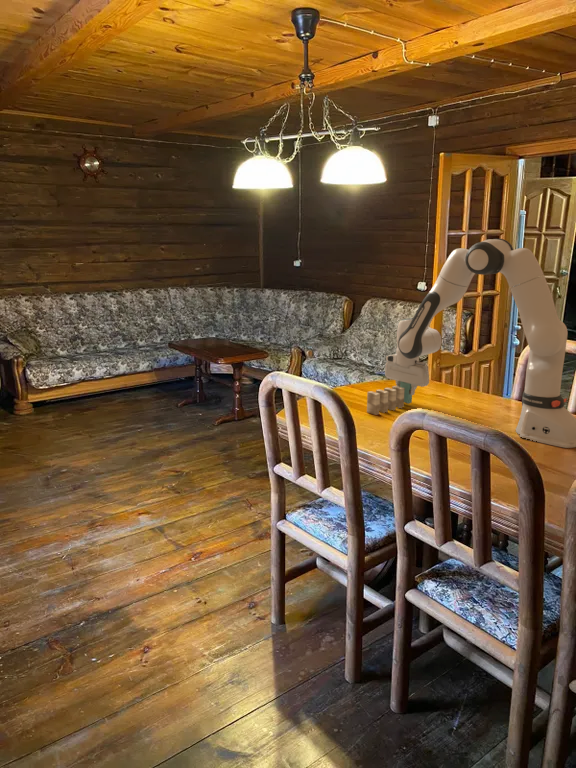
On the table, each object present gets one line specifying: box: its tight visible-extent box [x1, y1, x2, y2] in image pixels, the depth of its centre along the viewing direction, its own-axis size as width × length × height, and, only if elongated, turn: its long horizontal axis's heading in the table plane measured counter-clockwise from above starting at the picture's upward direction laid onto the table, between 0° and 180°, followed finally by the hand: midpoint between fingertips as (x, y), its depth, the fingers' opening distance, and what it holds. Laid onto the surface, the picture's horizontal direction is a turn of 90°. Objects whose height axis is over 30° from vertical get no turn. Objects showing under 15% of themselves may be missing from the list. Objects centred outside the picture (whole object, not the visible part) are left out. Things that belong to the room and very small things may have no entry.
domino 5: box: [400, 382, 413, 404], centre depth 235 cm, size 5×2×8 cm, turn 37°
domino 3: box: [383, 387, 397, 411], centre depth 230 cm, size 5×2×8 cm, turn 37°
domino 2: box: [375, 389, 388, 414], centre depth 227 cm, size 5×2×8 cm, turn 37°
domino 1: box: [366, 391, 380, 416], centre depth 225 cm, size 5×2×8 cm, turn 37°
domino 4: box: [391, 385, 405, 409], centre depth 232 cm, size 5×2×8 cm, turn 37°
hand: (405, 393), depth 235 cm, fingers closed on domino 5, 4 cm apart
